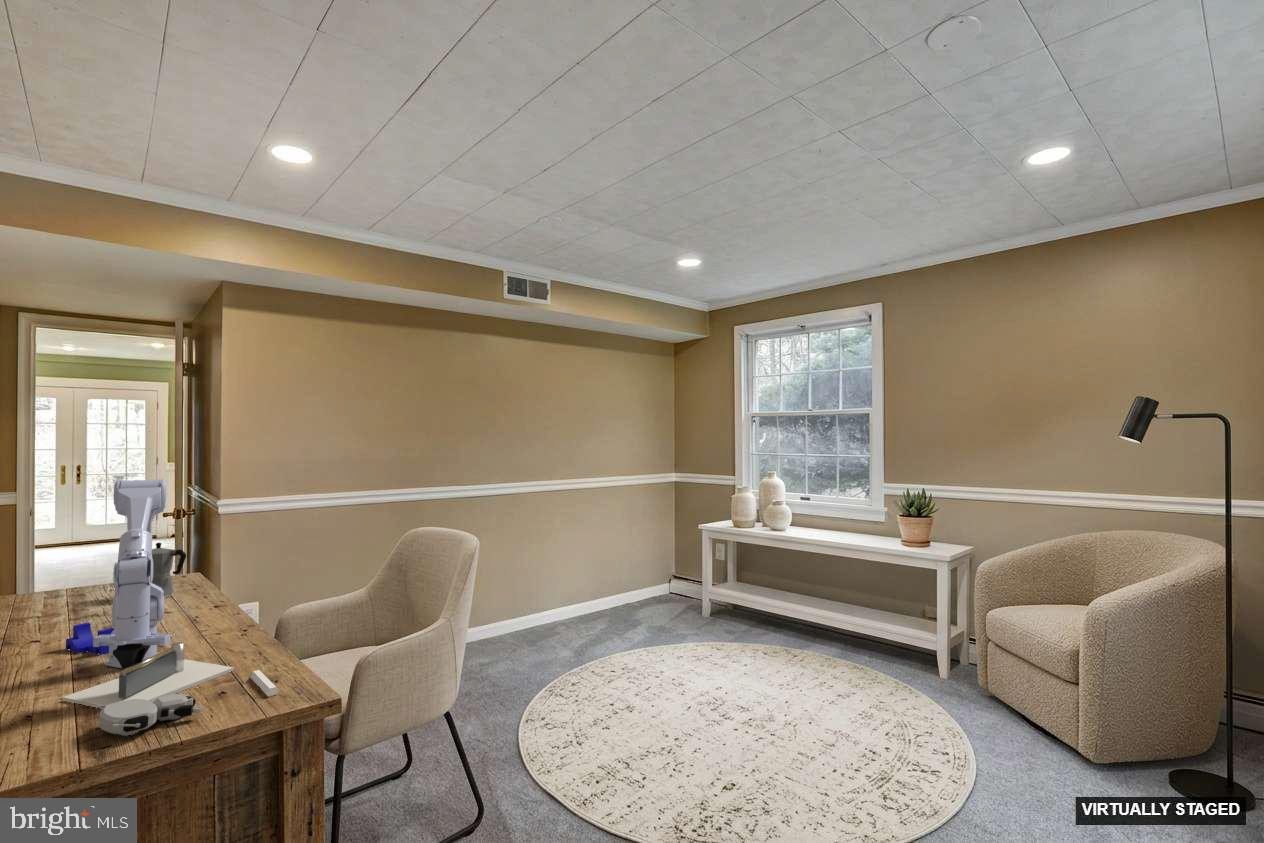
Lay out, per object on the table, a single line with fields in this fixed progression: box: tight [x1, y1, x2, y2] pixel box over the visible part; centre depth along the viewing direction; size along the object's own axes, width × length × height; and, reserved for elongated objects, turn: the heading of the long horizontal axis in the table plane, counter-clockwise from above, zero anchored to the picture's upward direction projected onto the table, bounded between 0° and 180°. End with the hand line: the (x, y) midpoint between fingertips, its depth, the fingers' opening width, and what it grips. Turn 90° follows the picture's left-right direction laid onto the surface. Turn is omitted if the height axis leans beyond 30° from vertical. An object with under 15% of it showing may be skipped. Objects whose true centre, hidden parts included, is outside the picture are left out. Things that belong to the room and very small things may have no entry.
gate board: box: [61, 658, 235, 710], centre depth 139 cm, size 18×24×1 cm
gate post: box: [170, 641, 185, 673], centre depth 145 cm, size 2×2×7 cm
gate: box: [118, 647, 176, 698], centre depth 137 cm, size 2×14×6 cm, turn 0°
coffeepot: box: [150, 542, 187, 597], centre depth 213 cm, size 15×9×18 cm, turn 95°
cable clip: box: [65, 622, 115, 656], centre depth 160 cm, size 12×4×6 cm, turn 67°
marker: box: [249, 669, 280, 697], centre depth 140 cm, size 3×2×16 cm
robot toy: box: [96, 692, 204, 737], centre depth 121 cm, size 12×4×15 cm
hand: (131, 679), depth 134 cm, fingers closed
